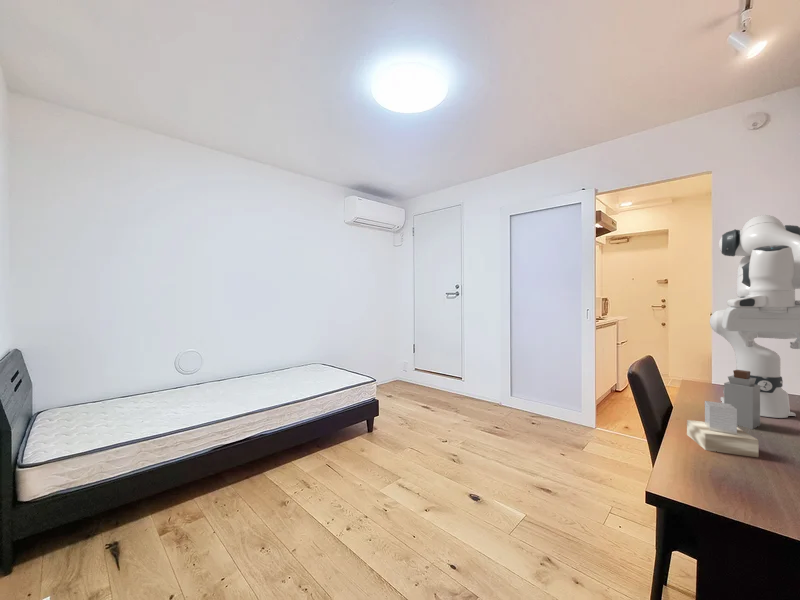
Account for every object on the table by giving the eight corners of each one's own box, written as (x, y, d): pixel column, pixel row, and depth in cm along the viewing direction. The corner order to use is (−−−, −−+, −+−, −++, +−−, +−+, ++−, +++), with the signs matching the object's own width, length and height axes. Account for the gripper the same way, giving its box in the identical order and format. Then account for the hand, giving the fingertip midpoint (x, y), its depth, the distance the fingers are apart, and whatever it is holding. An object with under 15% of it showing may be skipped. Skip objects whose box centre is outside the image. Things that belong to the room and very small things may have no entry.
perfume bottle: (752, 429, 103) (752, 374, 103) (724, 422, 109) (724, 370, 109) (760, 425, 106) (759, 371, 106) (732, 418, 112) (731, 368, 112)
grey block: (704, 424, 95) (704, 400, 95) (730, 428, 92) (730, 404, 92) (709, 429, 90) (709, 405, 91) (736, 434, 87) (736, 409, 87)
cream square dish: (686, 435, 98) (686, 419, 98) (733, 441, 94) (733, 425, 94) (705, 451, 88) (705, 433, 88) (758, 458, 84) (758, 440, 84)
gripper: (819, 299, 90) (819, 348, 90) (720, 300, 101) (720, 343, 101) (833, 300, 84) (833, 352, 85) (727, 301, 95) (727, 346, 96)
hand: (771, 347), depth 93 cm, fingers open, 8 cm apart
